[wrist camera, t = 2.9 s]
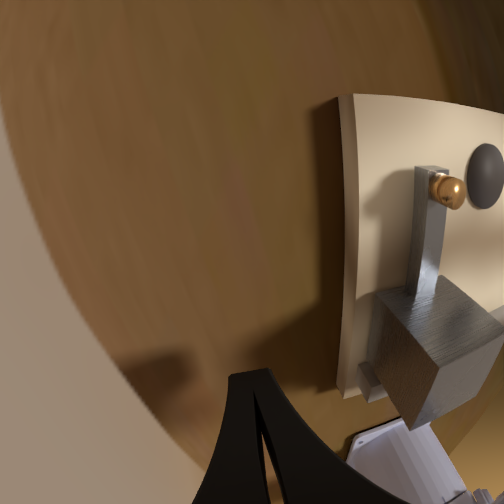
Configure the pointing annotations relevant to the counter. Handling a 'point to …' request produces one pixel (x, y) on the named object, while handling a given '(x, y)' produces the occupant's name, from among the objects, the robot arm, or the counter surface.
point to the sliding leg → (431, 318)
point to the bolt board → (401, 210)
